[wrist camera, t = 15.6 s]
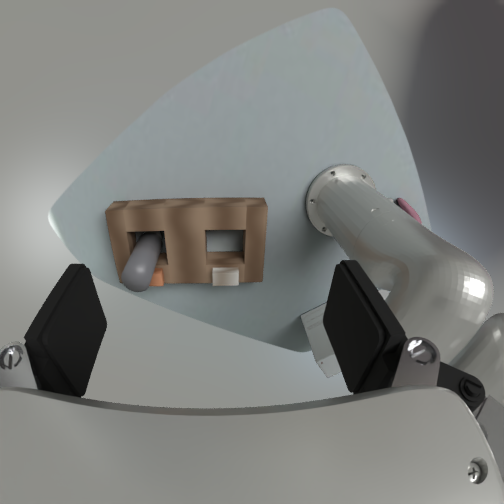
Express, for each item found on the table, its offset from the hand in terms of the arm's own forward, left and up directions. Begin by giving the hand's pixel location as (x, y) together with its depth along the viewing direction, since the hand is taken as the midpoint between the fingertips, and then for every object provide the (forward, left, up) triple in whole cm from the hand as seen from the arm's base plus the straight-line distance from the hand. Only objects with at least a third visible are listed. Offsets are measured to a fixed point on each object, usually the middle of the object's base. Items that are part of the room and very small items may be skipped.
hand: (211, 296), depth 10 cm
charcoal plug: (+11, +15, -33) cm, 38 cm away
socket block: (+5, +15, -33) cm, 37 cm away
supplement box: (-21, +34, -34) cm, 52 cm away
